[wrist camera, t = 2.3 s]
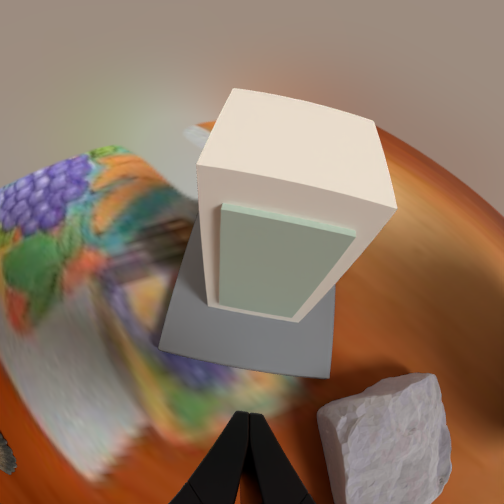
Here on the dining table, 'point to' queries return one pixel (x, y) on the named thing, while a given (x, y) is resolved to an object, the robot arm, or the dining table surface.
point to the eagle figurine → (6, 457)
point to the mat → (244, 328)
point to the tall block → (287, 202)
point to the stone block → (387, 442)
